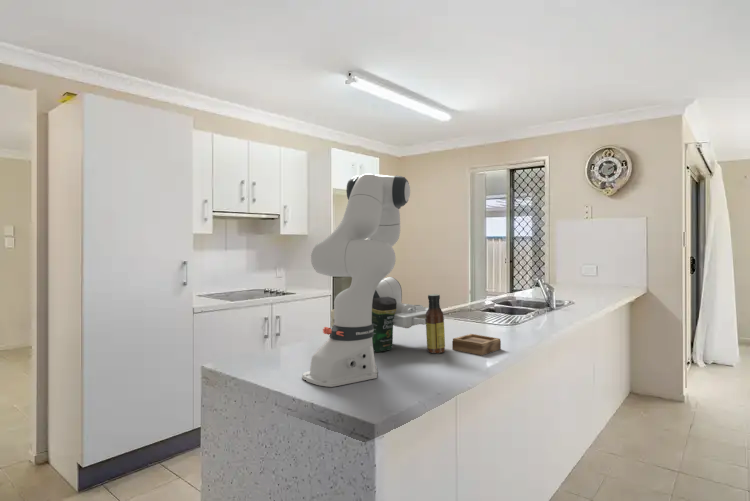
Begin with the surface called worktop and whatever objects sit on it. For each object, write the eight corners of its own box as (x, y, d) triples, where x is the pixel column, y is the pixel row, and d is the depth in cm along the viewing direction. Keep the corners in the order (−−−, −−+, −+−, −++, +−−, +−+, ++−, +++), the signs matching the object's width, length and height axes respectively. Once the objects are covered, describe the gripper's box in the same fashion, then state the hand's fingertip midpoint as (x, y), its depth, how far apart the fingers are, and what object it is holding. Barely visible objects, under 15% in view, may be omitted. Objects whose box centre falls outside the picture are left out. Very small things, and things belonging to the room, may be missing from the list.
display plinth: (481, 355, 154) (481, 344, 154) (452, 349, 163) (452, 338, 163) (500, 349, 162) (500, 338, 162) (471, 343, 171) (471, 333, 171)
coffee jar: (375, 354, 156) (380, 301, 154) (360, 347, 162) (365, 295, 160) (396, 349, 163) (401, 298, 160) (381, 342, 168) (386, 293, 166)
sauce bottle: (444, 349, 162) (444, 293, 162) (445, 354, 156) (445, 295, 155) (425, 349, 163) (425, 293, 162) (426, 354, 156) (425, 295, 156)
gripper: (385, 310, 162) (414, 314, 152) (422, 304, 176) (452, 308, 166) (385, 328, 162) (414, 333, 152) (422, 320, 176) (452, 325, 166)
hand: (434, 320), depth 159 cm, fingers open, 8 cm apart
